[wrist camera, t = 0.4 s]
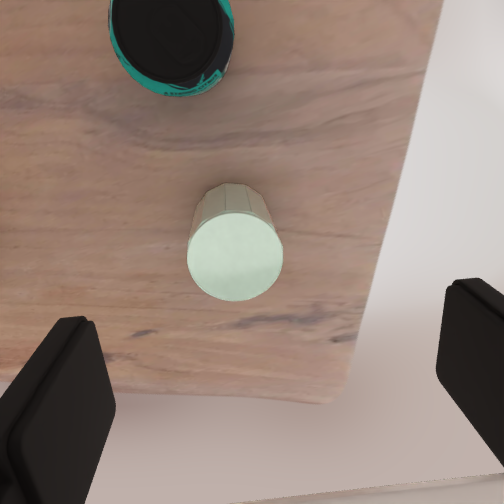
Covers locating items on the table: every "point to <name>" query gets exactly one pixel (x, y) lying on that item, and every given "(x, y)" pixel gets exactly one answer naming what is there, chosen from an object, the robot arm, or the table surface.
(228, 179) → the table surface
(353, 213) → the table surface
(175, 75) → the beverage can
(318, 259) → the table surface
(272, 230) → the cup
